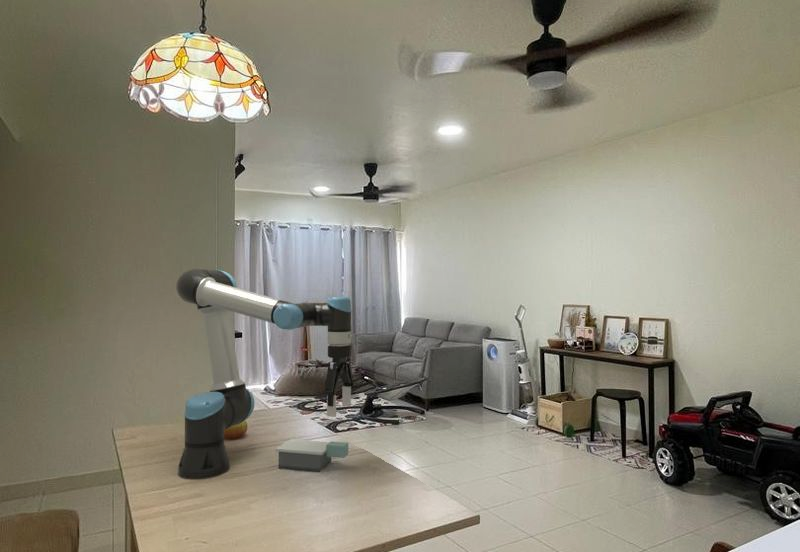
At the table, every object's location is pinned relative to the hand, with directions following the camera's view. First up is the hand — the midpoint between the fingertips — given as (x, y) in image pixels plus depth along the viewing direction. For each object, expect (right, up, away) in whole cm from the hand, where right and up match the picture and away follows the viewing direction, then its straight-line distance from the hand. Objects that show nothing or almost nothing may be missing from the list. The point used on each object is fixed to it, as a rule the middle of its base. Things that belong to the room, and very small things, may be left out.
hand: (339, 411), depth 159 cm
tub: (-11, -18, +2) cm, 21 cm away
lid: (-8, -14, +2) cm, 16 cm away
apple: (-45, -19, +32) cm, 58 cm away
